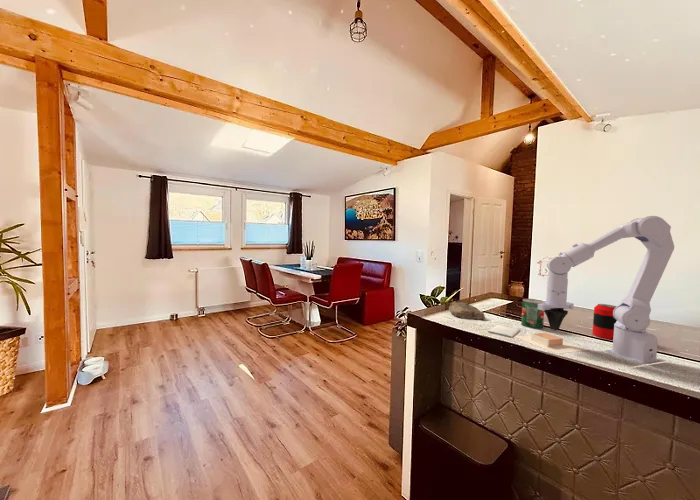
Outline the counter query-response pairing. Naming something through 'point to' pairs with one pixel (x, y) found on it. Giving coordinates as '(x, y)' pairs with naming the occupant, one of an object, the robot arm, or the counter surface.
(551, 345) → the terracotta tile
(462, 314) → the brown rock
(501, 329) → the hard drive
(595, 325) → the soda can
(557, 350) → the felt mat
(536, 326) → the canned tomato
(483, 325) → the counter surface
